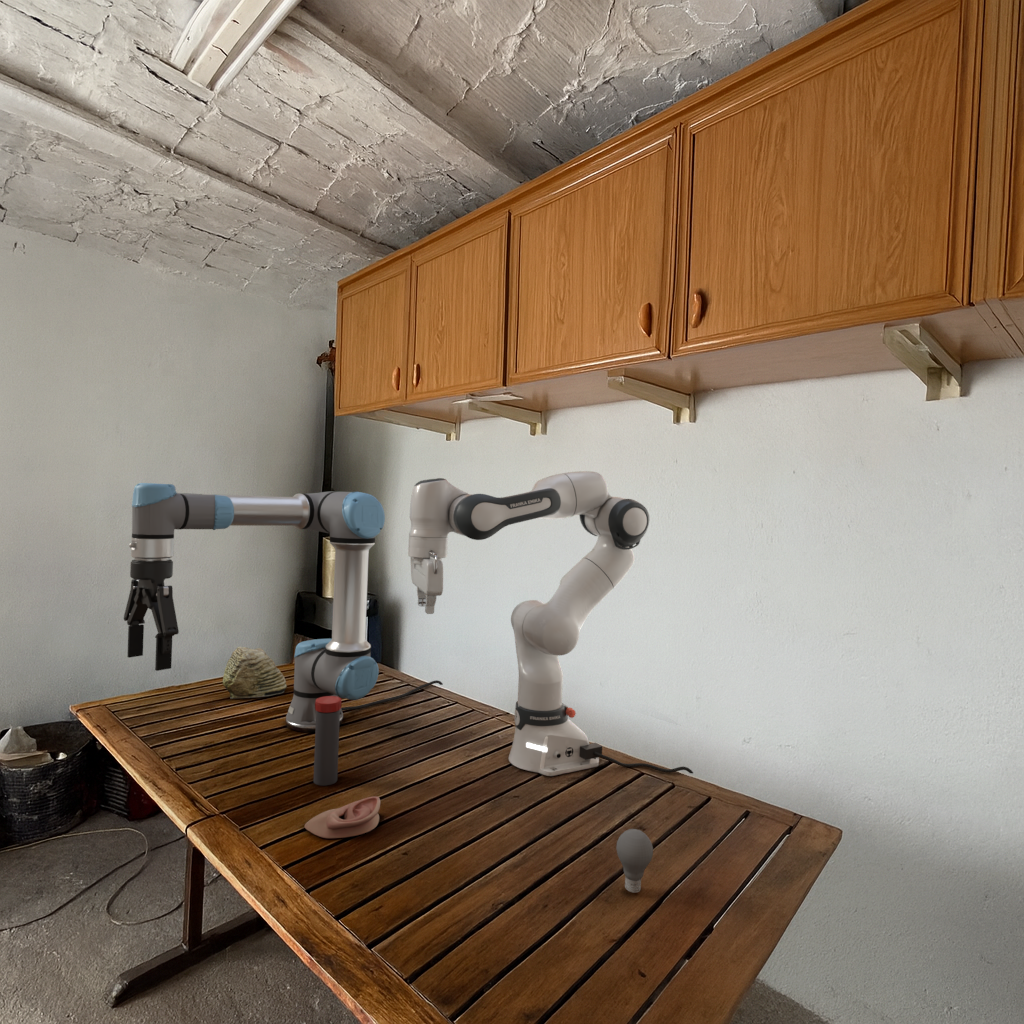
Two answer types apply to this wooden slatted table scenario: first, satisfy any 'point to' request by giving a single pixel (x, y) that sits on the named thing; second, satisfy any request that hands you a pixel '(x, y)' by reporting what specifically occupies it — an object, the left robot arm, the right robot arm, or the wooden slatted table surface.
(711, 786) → the wooden slatted table surface
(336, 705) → the lid
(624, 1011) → the wooden slatted table surface
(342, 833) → the anatomical model
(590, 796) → the wooden slatted table surface
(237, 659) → the fossil
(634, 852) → the light bulb
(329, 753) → the jar
